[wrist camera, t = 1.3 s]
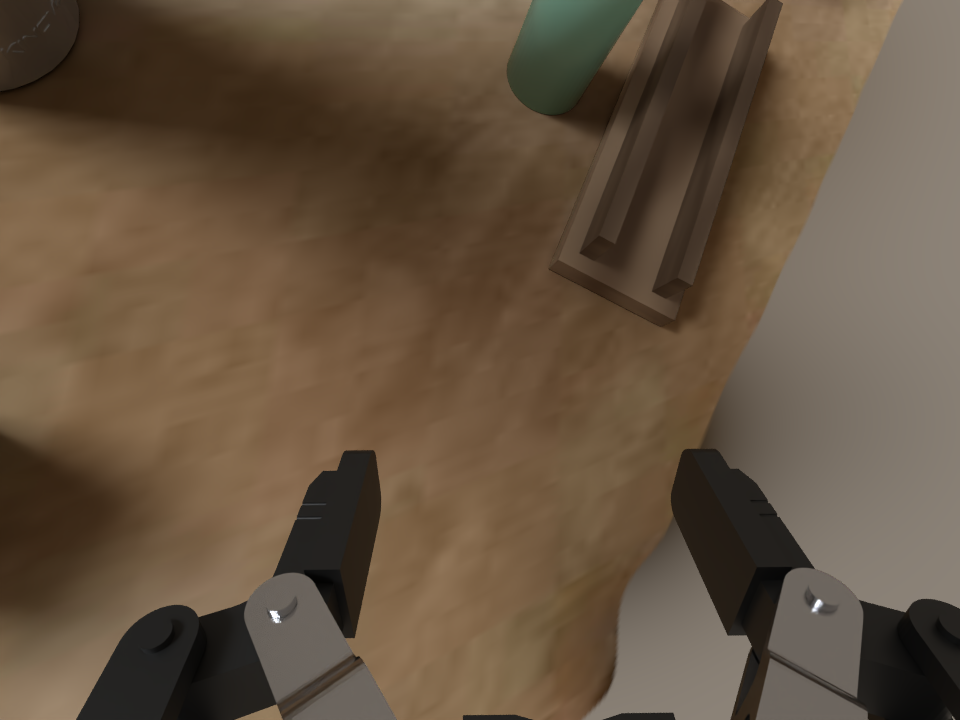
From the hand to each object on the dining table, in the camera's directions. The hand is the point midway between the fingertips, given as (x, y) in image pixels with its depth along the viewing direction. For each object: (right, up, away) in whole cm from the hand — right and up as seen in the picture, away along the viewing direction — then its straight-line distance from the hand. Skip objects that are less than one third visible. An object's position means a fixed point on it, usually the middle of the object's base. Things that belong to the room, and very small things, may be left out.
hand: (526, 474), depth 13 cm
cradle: (+11, +17, +21) cm, 29 cm away
